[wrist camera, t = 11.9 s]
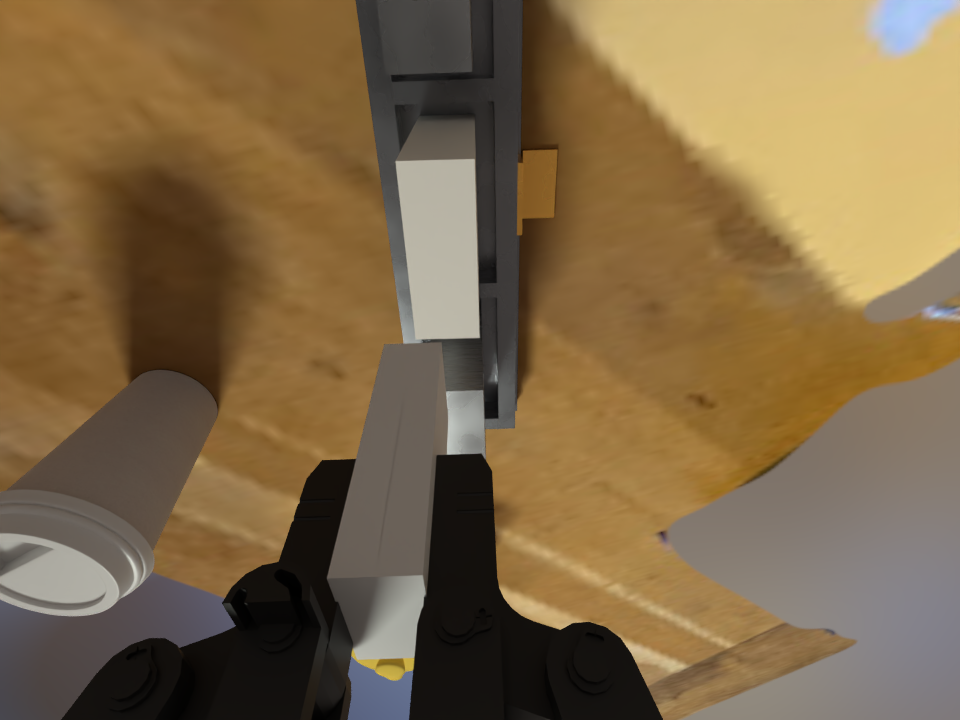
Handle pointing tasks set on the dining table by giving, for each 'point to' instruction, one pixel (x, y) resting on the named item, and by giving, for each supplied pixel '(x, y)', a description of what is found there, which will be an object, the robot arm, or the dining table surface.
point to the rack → (499, 176)
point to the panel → (441, 225)
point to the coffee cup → (102, 498)
